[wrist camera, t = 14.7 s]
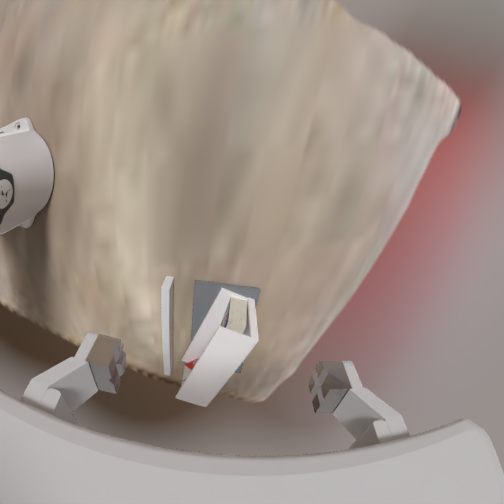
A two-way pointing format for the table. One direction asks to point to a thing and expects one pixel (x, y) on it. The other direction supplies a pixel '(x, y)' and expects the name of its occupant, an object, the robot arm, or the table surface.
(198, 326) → the mat
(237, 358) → the white boxy piece
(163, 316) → the low wall
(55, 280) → the table surface
